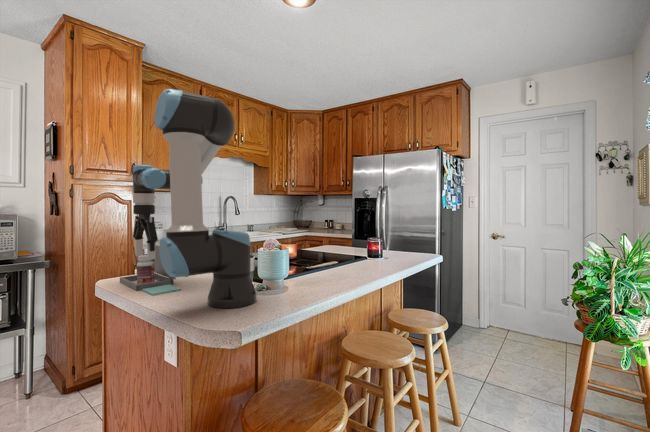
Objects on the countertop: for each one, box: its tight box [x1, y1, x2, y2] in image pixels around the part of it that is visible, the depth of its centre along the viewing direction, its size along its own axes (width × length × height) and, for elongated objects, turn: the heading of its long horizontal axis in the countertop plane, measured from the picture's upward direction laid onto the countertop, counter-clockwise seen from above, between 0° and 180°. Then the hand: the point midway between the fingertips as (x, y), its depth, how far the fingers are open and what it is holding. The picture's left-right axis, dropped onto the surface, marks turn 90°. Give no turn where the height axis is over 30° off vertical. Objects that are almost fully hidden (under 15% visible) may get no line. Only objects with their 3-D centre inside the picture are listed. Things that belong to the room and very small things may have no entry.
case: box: [119, 244, 177, 292], centre depth 134 cm, size 20×14×14 cm
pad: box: [141, 284, 182, 296], centre depth 123 cm, size 10×10×1 cm
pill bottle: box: [136, 254, 156, 285], centre depth 134 cm, size 6×6×11 cm
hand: (145, 257), depth 134 cm, fingers open, 13 cm apart
